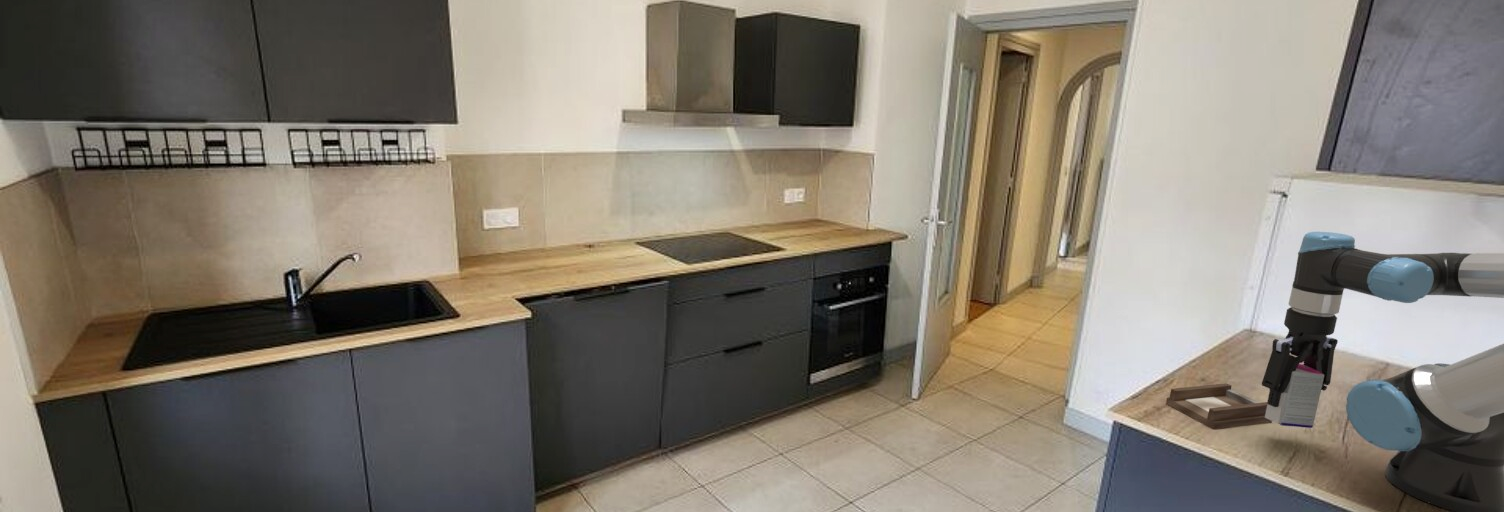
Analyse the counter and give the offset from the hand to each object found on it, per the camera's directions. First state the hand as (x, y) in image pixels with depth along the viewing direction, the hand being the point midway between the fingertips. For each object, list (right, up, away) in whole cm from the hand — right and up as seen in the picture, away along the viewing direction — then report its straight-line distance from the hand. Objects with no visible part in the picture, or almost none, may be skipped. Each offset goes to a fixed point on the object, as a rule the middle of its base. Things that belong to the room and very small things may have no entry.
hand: (1288, 418), depth 130 cm
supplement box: (0, -1, 0) cm, 1 cm away
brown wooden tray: (-4, -2, +14) cm, 15 cm away
